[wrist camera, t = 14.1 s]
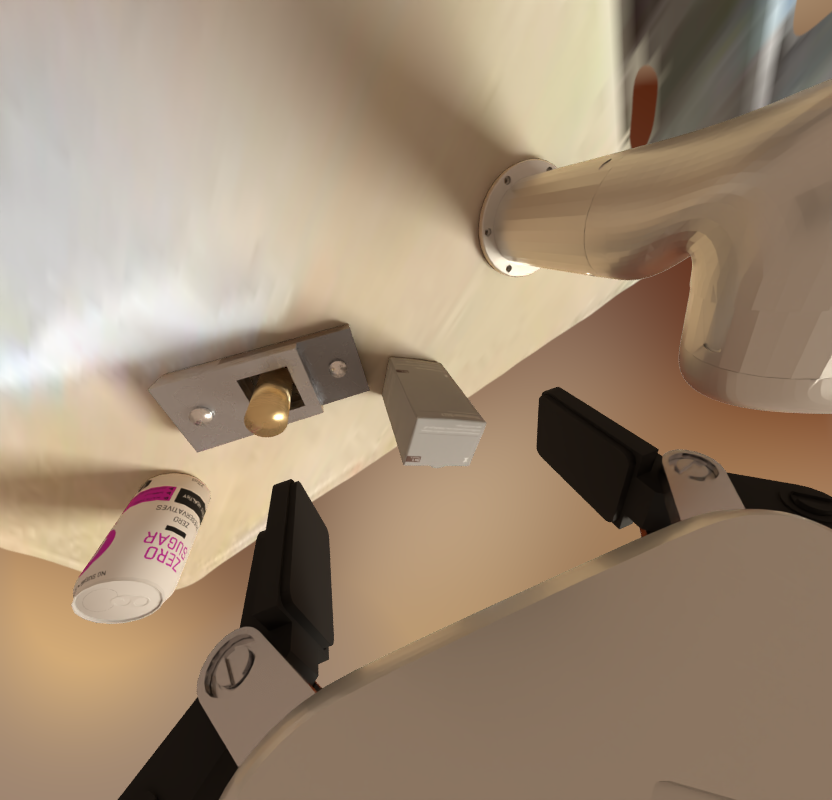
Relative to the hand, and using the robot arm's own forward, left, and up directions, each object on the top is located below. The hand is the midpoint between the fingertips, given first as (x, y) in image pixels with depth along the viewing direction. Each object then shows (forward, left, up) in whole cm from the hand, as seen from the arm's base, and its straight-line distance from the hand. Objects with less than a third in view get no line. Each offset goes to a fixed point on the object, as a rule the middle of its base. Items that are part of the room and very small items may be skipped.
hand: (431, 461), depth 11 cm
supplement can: (+31, +19, -31) cm, 47 cm away
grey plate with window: (+12, +7, -30) cm, 33 cm away
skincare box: (-5, +13, -31) cm, 34 cm away
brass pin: (+12, +7, -30) cm, 33 cm away
